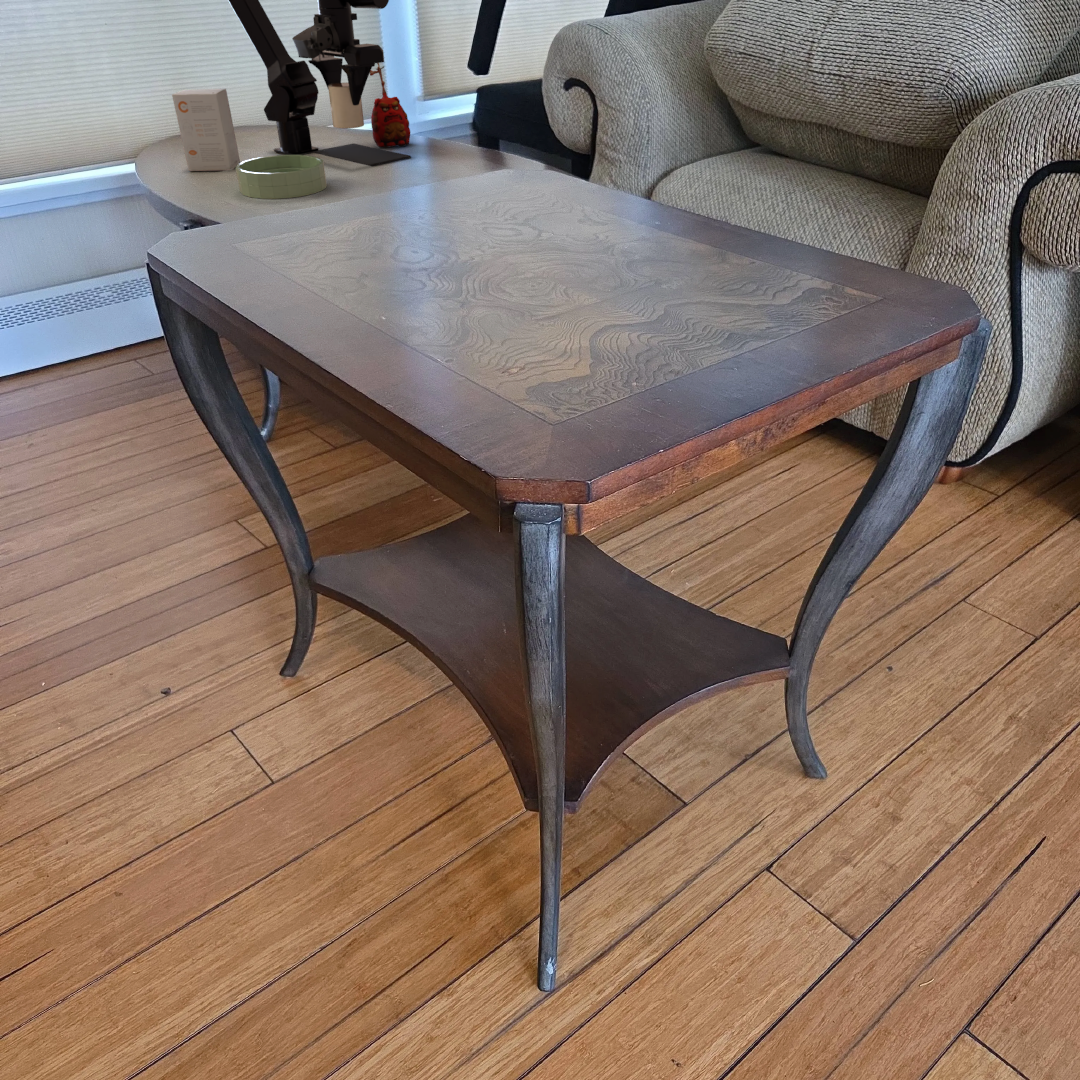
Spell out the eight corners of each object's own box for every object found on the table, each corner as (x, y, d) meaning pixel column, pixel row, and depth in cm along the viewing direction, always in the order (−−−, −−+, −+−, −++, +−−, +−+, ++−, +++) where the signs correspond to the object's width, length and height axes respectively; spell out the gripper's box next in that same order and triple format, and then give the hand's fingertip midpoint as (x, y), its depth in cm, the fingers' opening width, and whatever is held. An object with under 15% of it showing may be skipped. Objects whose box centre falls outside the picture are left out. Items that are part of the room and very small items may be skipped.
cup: (326, 126, 177) (321, 84, 173) (351, 121, 180) (347, 81, 176) (345, 129, 174) (340, 88, 170) (370, 125, 177) (366, 84, 173)
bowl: (224, 193, 158) (219, 165, 156) (295, 178, 167) (291, 151, 164) (271, 207, 150) (266, 178, 147) (343, 190, 158) (340, 162, 156)
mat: (295, 157, 181) (294, 154, 181) (353, 145, 189) (353, 143, 189) (351, 170, 171) (351, 168, 170) (410, 157, 179) (410, 155, 179)
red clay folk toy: (380, 150, 185) (372, 66, 176) (367, 144, 190) (358, 62, 182) (416, 146, 188) (409, 62, 180) (402, 140, 193) (395, 59, 185)
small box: (241, 163, 177) (227, 87, 170) (231, 171, 172) (216, 93, 165) (198, 164, 177) (182, 88, 170) (187, 171, 172) (171, 94, 165)
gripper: (266, 8, 167) (280, 103, 175) (328, 13, 156) (340, 115, 165) (318, 3, 173) (329, 96, 182) (381, 8, 162) (390, 106, 171)
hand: (345, 103), depth 175 cm, fingers closed on cup, 6 cm apart
